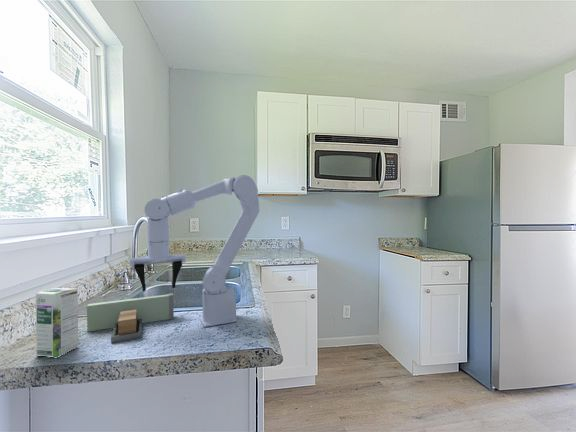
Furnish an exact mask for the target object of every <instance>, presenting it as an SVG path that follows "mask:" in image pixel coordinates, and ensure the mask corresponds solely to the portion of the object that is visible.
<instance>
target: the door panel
mask: <svg viewBox="0 0 576 432" xmlns="http://www.w3.org/2000/svg"><path fill="white" fill-rule="evenodd" d="M136 309H137V319H142V324H145V323H152V322H158V321H164V320H172V319H175V318H174V317H175V316H174V314H175V313H174V312H175V310H174V293H172V292H171V293H168V294H161V295H160V294H159V295H152V296H144V297H136V298H135V297H134V298H127V299H119V300H110V301H103V302H95V303H88V304H87V305H86V328H87V329H86V331H87V332H94V331H95V332H96V331H102V330H107V329H114V325H115V323H117V322H118V319H119V315H120V312H122V311H129V310H136Z"/></svg>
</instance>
